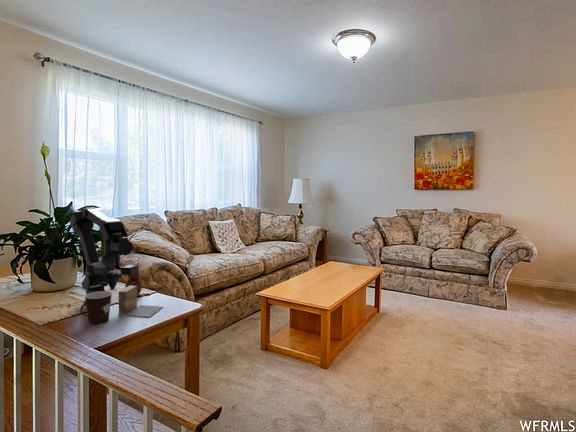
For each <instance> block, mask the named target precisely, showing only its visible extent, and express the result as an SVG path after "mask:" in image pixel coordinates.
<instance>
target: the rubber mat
mask: <svg viewBox="0 0 576 432" xmlns="http://www.w3.org/2000/svg"><path fill="white" fill-rule="evenodd" d="M163 308H164V306H161V305H160V306H159V305H156V306H155V305H144V304H140V305H137V307H136V308H135V309H133V310H132V311H130V312H129V313H127V314H124V316H125V317H134V318H135V317H136V318H145V319H146V318H147V319H149V318H151V317H153V316H154V315H155V314H157V313H158V312H160V311H161V310H162V309H163Z"/></svg>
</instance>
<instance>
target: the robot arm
mask: <svg viewBox="0 0 576 432" xmlns="http://www.w3.org/2000/svg"><path fill="white" fill-rule="evenodd" d="M69 224H70V225H69V226H71V229H72V231H73V232H75V234H76V235H78V236H79V240H80V241H79V242H80V244H81V248H82V251H83V255H84V259H85V261H86V267H85V268H86V269H85V272H84V279H83V280H82V282H81V287H82V289H84V290H85V295H87V294H89V293H92V292H98V291H106V290H105V287H109V288H110V291H115V289H116V287H117V284H118V282H119V280H120V278H121V276H122V275H123V276H128V275H132V274H134V273H136V272H138V271H139V266H138V267H137V264H135V265H134V264H126V265H124V266H123V262H121V257H122V256H128V255H130V254H131V253H132V251H133V250H134V245H133V243H132V242H131V241H130V240H129V238H128V232H127V230H126V228H125V226H124V223H123V222H122V220H120V219H118V218H115V217H114V218H113V217H108V216H107V215H105V213H102V212H101V211H99V210H98V209H97V207H84V208H82V209H81V210H79V211H77V212H75V213H73V215H72V216H71V217H70V218H69ZM94 225H97V226H98V229H99V232H101V234H102V235H103V236H102V237H101V239H102V240H103V254H102V255H101V259H99V258H100V256H99V255H98V251H97V247H96V243H95V239H94V237H93V234H92V231H93V228H94ZM84 303H86V301H85V300H84V301H83V304H84Z"/></svg>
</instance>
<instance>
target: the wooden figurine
mask: <svg viewBox="0 0 576 432" xmlns="http://www.w3.org/2000/svg"><path fill="white" fill-rule="evenodd" d="M133 265H136V266H137V267H138V268H139V265H140V264H139V262H137V264H135V263H134V264H133ZM140 276H141V275H140V271H139V270H138V272H136V273H134V274H132V275H127V278H128V279H127V280H126V282H125V284H124V285H125V286H124V287H125V288H126V287H128V286H137V296H139V295H140V294H141V292H142V289H143V282H142V280H141V279H140Z"/></svg>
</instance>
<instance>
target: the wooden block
mask: <svg viewBox="0 0 576 432" xmlns="http://www.w3.org/2000/svg"><path fill="white" fill-rule="evenodd" d="M136 307H138V295H137V286H128V287H126V288H122V289H120V290H119V291H118V315H126V314H127V313H129V312H130V311H132V310H133V309H135V308H136Z"/></svg>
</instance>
